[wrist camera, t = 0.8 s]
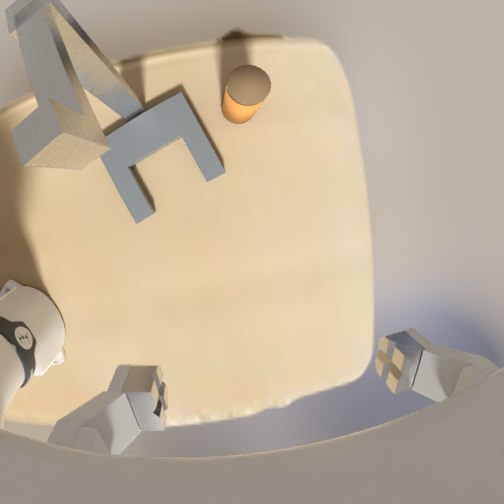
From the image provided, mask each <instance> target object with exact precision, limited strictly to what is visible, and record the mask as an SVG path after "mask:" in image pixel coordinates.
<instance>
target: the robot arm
mask: <svg viewBox="0 0 504 504" xmlns="http://www.w3.org/2000/svg"><path fill="white" fill-rule="evenodd" d="M9 290H10V291H9ZM64 341H65V327H64V323H63V320H62V317H61V315H60V313H59V311H58V309H57V308H56V306H55V305H54V304H53V302H52V301H51V300H50V299H49V298H48V297H47V296H46V295H45V294H44V293H42V292H41V291H39V290H37V289H35V288H32V287H28V286H22V285H20V284H19V283H17V282H16V281H14V280H12V279H10V280H9V281H8V282H7V283H6V284H5V286H4V287H3V289H2V291H1V292H0V504H504V367H503V368H501V369H499V368H498V367H497V366H496V365H495V364H493V363H492V362H491V361H489V360H488V359H487V358H486V357H483V356H478V355H475V354H471V353H467V352H463V351H458V350H455V349H451V348H447V347H443V346H439V345H437V346H435V345H434V344H433V343H431V342H430V341H429V340H427V338H425V337H424V336H423V335H422V334H421V333H419V332H418V331H417V330H416V329H413V328H411V329H408V330H404V331H402V332H398V333H394V334H391V335H387V336H382V337H381V338H380V340H379V344H378V347H379V348H380V351H379V353H378V354H377V355H376V360H375V365H376V370H377V372H378V374H379V376H380V377H381V378H384V379H386V380H387V382H386V385H387V386H388V387H389V388H390V390H391V391H392V392H393V393H394V394H396V393H399V392H402V391H406V390H409V389H412V390H414V391H416V392H418V393H420V394H422V395H424V396H426V397H428V398H431V399H432V400H434V401H436V402H437V403H436V404H433V405H431V406H428V407H426V408H424V409H422V410H419V411H417V412H414V413H412V414H409V415H407V416H404V417H401V418H399V419H396V420H393V421H390V422H388V423H385V424H382V425H379V426H376V427H373V428H370V429H366V430H363V431H359V432H356V433H353V434H349V435H345V436H341V437H338V438H334V439H330V440H326V441H321V442H317V443H312V444H307V445H302V446H298V447H292V448H287V449H280V450H274V451H268V452H260V453H252V454H243V455H233V456H219V457H199V458H161V457H141V456H128V455H120V454H121V453H122V452H123V450H124V449H125V448H126V447H127V446H128V445H129V444H130V443H131V442H132V441H133V440H134V439H135V438H136V437H137V435H138V434H139V433H140V432H141V430H164V429H165V422H166V415H165V412H164V411H165V410H166V409H167V408H168V393H167V388H166V384H165V383H164V382H163V381H162V376H163V373H162V370H161V367H160V366H159V365H119V366H118V367H117V369H116V371H115V374H114V376H113V378H112V381H111V383H110V385H109V388H108V390H107V392H102V393H100V394H99V395H97V396H96V397H94V398H93V399H91V400H90V401H88V402H86V403H85V404H83V405H82V406H80V407H79V408H77V409H76V410H74V411H73V412H71V413H69V414H68V415H66V416H65V417H63V418H62V419H60V420H58V421H57V423H56V425H55V427H54V429H53V431H52V433H51V435H50V437H49V439H48V441H47V443H46V442H42V441H39V440H35V439H31V438H27V437H24V436H20V435H17V434H14V433H11V432H8V431H4V418H5V414H6V411H7V409H8V407H9V405H10V403H11V401H12V399H13V397H14V396H15V394H16V393H17V391H18V390H19V388H22V387H23V386H24V385H25V384H26V383H28V382H29V380H30V379H31V378H32V377H33V376H34V375H35V376H36V377H37V376H39V375H40V374H41V375H42V374H44V373H45V371H46V370H47V369H48V368H49V367H50V366H51V365H55V364H60V363H62V362H63V361H64V360H65V353H64V349H63V346H64Z"/></svg>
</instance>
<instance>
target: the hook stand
mask: <svg viewBox="0 0 504 504" xmlns="http://www.w3.org/2000/svg"><path fill="white" fill-rule="evenodd" d="M5 12H6V18H7V24H8V29H9V33H10V35H11V36H12V37H13V38H15V39H16V40H18V41H19V44H20V48H21V52H22V56H23V59H24V62H25V66H26V69H27V73H28V76H29V79H30V82H31V85H32V88H33V91H34V94H35V97H36V100H37V103H38V105H39V107H38V108H36V109H35V110H34V111H33V112H32V113H31V114H30V115H29V116H27V117H26V118H25V119H24V120H23V121H22V122H21V123H20V124H19V125H18V126H17V127H16V128H15V129H14V130H13V131H12V132H11V135H12V137H13V140H14V143H15V146H16V149H17V151H18V154H19V157H20V159H21V162H22V164H23V167H46V168H64V169H79V170H81V169H83V168H84V167H85V166H87V165H88V164H90V163H91V162H92V161H94V160H95V159H96V158H98V157H99V156H101V155H102V154H104V153H105V152H106V151H108V150H109V149H111V147H110V145H109V143H108V141H107V139H106V137H105V135H104V133H103V131H102V129H101V127H100V124H99V122H98V120H97V118H96V116H95V114H94V112H93V110H92V108H91V105H90V103H89V101H88V99H87V97H86V94H85V92H84V90H83V88H84V89H86V90H87V91H88V92H90V93H91V94H93V95H94V96H95V97H97V98H98V99H99V100H101V101H102V102H103V103H104V104H106V105H107V106H108V107H110V108H111V109H112V110H114V111H115V112H116V113H118V114H119V115H120V116H122V117H123V118H124V119H126V120H127V121H128V122H129V121H131V120H132V119H134V118H136V117H137V116H139V115H141V114H142V113H144V112H146V111H145V109H144V107H143V105H142V103H141V101H140V100H139V98H138V96H137V95H136V94H135V93H134V91H133V90H132V89H131V88H130V86H129V85H128V84H127V83H126V81H125V80H124V79H123V78H122V76H121V75H120V74H119V73H118V72H117V70H116V69H115V68H114V67H113V65H112V64H111V63H110V62H109V60H108V59H107V58H106V57H105V56H104V54H103V53H102V52H101V51H100V49H99V48H98V47H97V46H96V44H95V43H94V42H93V41H92V40H91V39H90V37H89V36H88V35H87V34H86V32H85V31H84V30H83V29H82V27H81V26H80V25H79V24H78V22H77V21H76V20H75V19H74V18H73V16H72V15H71V14H70V13H69V12H68V10H67V9H66V8H65V7H64V5H63V4H62V3H61V2H60V1H59V0H17V1H15V2H14V3H13V4H12V5H10V6H9V7H8V8H7V9H6V10H5ZM82 87H83V88H82Z"/></svg>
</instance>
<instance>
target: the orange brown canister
mask: <svg viewBox="0 0 504 504" xmlns="http://www.w3.org/2000/svg"><path fill="white" fill-rule="evenodd" d="M270 89H271V82H270V78H269V76H268V75H267V74H266V72H265V71H263V70H262V69H261V68H259V67H256V66H252V65H244V66H240V67H238V68H236V69H235V70H233V71H232V72H231V74H230V75H229V77H228V81H227V85H226V89H225V94H224V99H223V103H222V113H223V115H224V117H225V118H226V119H227V120H228V121H230V122H232V123H236V124H240V123H245V122H247V121H248V120H250V119H251V117H252V116H253V115H254V113H255V112H256V110H257V109H258V108H259V106H260V105H261V104H262V102H263V101H264V99H265V98H266V97H267V95H268V94H269V92H270Z"/></svg>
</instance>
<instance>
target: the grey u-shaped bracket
mask: <svg viewBox="0 0 504 504" xmlns="http://www.w3.org/2000/svg"><path fill="white" fill-rule="evenodd" d="M181 137H183V139H184V141H185V143H186V145H187V146H188V148H189V150H190V152H191V154H192V156H193V157H194V159H195V161H196V163H197V165H198V166H199V168H200V170H201V172H202V174H203V176H204V177H205V179H206V181H207V182H208V181H210V180H212V179H214V178H216V177H217V176H219V175H221V174H223V173H225V170H224V168H223V166H222V164H221V163H220V161H219V159H218V157H217V155H216V153H215V152H214V150H213V148H212V146H211V144H210V143H209V141H208V139H207V137H206V135H205V134H204V132H203V130H202V128H201V126H200V125H199V123H198V121H197V119H196V117H195V116H194V114H193V112H192V110H191V108H190V107H189V105H188V103H187V101H186V99H185V98H184V96H183V94H182V92H180V93H178V94H176V95H174V96H172V97H171V98H169V99H167V100H165V101H163V102H161V103H160V104H158V105H156V106H154V107H153V108H151V109H149V110H147V111H146V112H144V113H142V114H141V115H139V116H137V117H136V118H134V119H132V120H131V121H129V122H128V123H126V124H125V125H123V126H121V127H120V128H118V129H117V130H115V131H114V132H112V133H111V134H109V135H108V136H106V139H107V141H108V143H109V145H110V147H111V149H109V150H108V151H106V152H105V153H104V154H102V155H101V156H100V157H101V159H102V161H103V163H104V165H105V167H106V169H107V171H108V173H109V175H110V176H111V178H112V180H113V182H114V184H115V186H116V188H117V190H118V192H119V193H120V195H121V197H122V199H123V201H124V202H125V204H126V206H127V208H128V210H129V211H130V213H131V215H132V217H133V219H134V220H135V222H136V224H137V223H139V222H141V221H142V220H144V219H145V218H147V217H149V216H150V215H152V214H153V213H155V210H154V208H153V207H152V205H151V203H150V201H149V199H148V198H147V196H146V194H145V192H144V190H143V189H142V187H141V185H140V183H139V181H138V179H137V178H136V176H135V174H134V172H133V170H132V168H131V167H132V166H134V165H136V164H137V163H139V162H140V161H142V160H144V159H145V158H147V157H148V156H150V155H152V154H153V153H155V152H157V151H158V150H160V149H162V148H163V147H165V146H167V145H169V144H170V143H172V142H174V141H176V140H177V139H179V138H181Z"/></svg>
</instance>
